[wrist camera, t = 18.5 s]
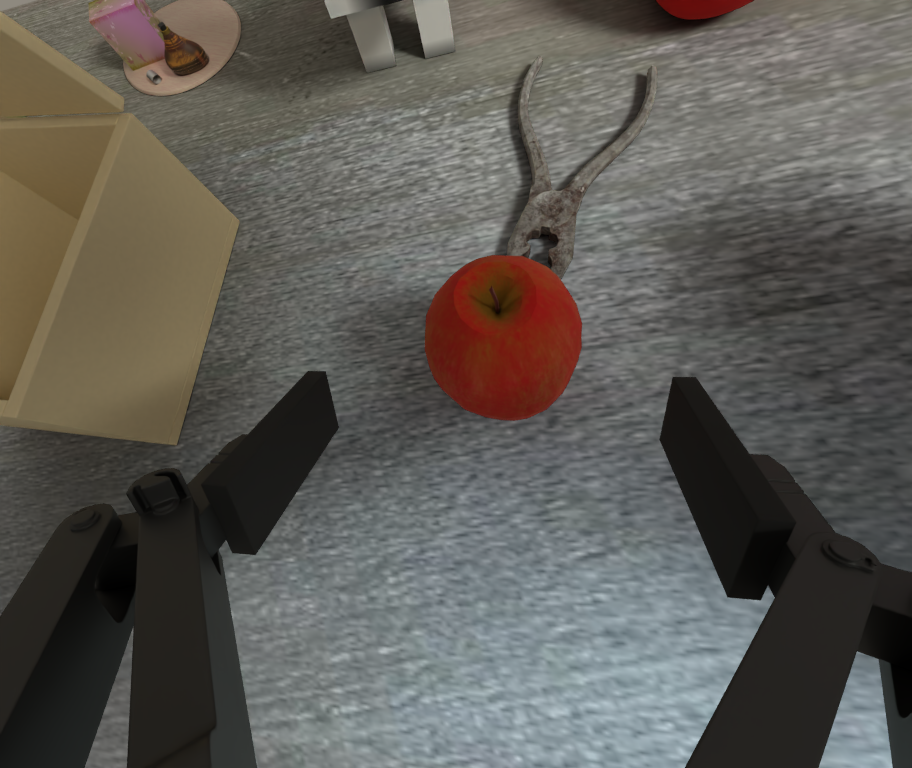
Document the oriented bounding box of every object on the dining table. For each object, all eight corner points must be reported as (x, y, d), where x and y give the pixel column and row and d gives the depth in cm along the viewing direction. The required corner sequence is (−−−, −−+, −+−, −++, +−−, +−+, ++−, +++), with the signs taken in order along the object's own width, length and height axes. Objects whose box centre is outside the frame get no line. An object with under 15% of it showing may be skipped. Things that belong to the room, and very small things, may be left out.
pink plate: (127, 113, 39) (78, 65, 35) (120, 25, 42) (75, -29, 38) (249, 66, 38) (214, 11, 34) (232, -20, 42) (198, -80, 37)
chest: (177, 445, 29) (15, 418, 20) (5, 425, 32) (-211, 393, 22) (240, 221, 34) (131, 112, 24) (85, 219, 36) (-68, 120, 27)
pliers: (657, 45, 31) (663, 297, 26) (654, 56, 32) (658, 303, 27) (521, 54, 33) (501, 293, 27) (521, 65, 33) (502, 299, 28)
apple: (529, 287, 28) (533, 165, 18) (599, 391, 26) (649, 318, 16) (420, 347, 28) (363, 259, 18) (480, 457, 26) (452, 427, 16)
